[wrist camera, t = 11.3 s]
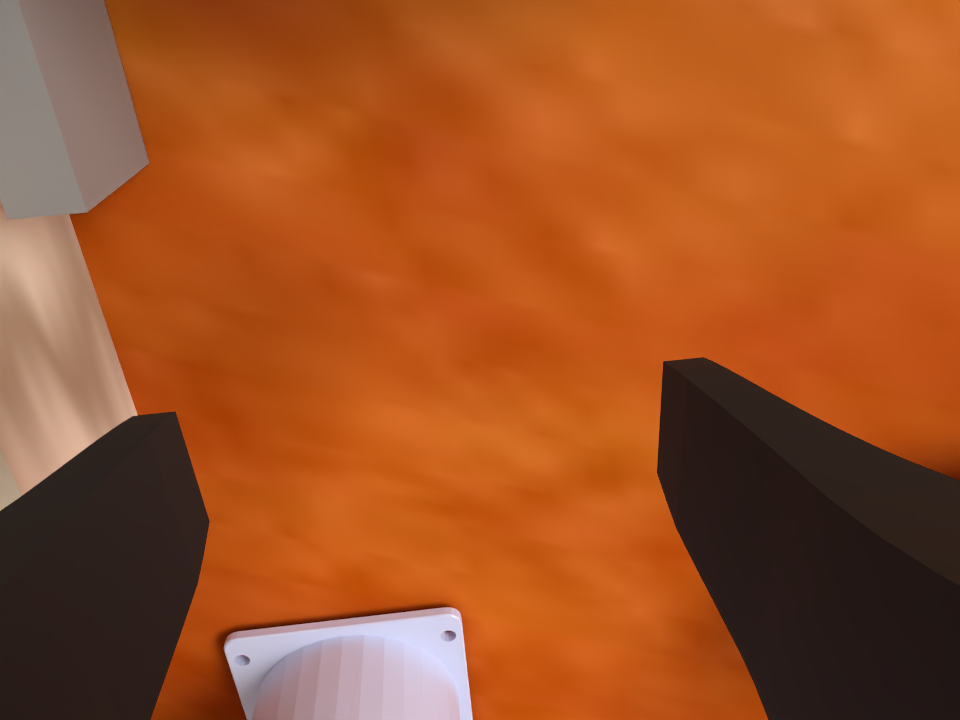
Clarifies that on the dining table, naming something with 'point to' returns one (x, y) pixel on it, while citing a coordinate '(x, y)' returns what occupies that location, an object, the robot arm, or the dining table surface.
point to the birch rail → (51, 354)
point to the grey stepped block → (63, 109)
